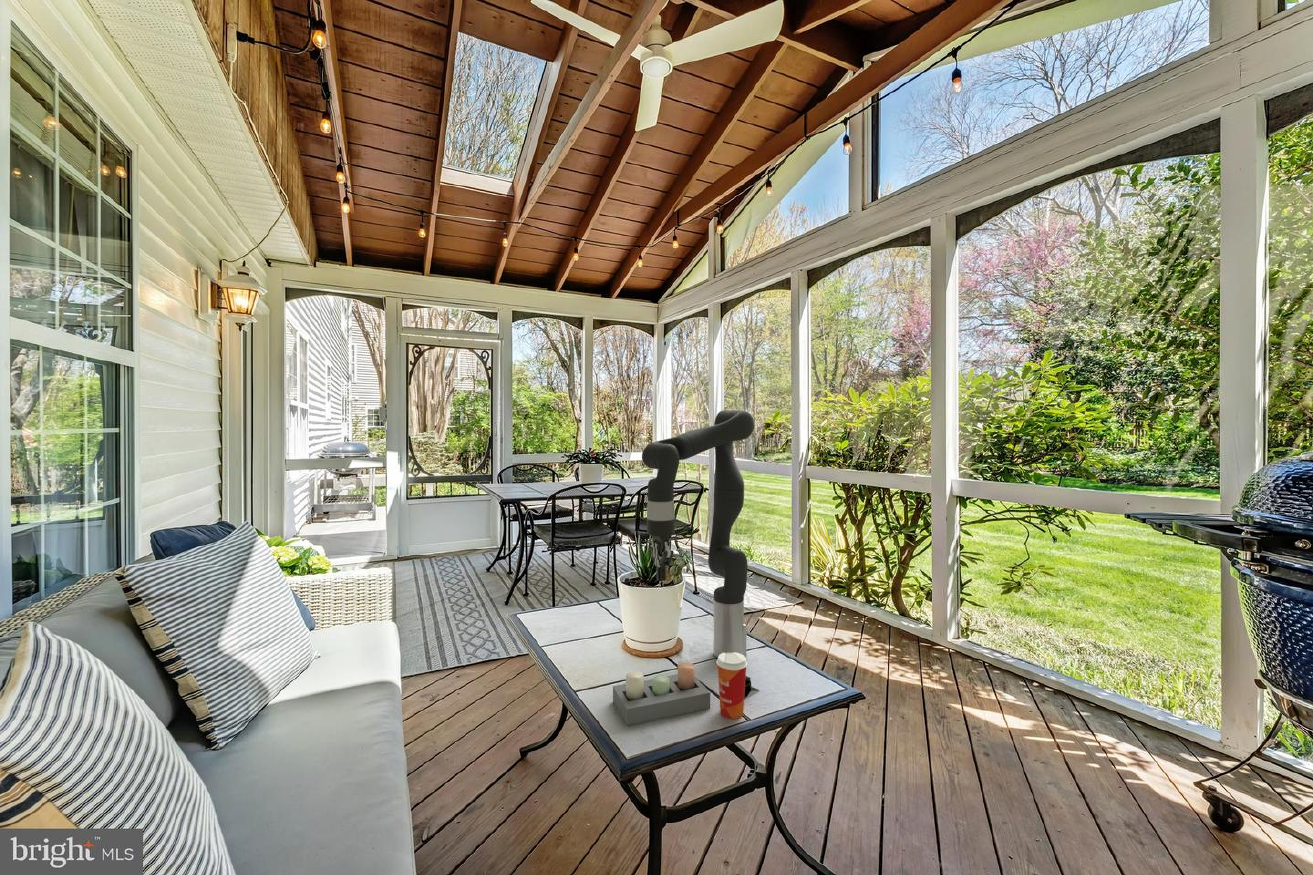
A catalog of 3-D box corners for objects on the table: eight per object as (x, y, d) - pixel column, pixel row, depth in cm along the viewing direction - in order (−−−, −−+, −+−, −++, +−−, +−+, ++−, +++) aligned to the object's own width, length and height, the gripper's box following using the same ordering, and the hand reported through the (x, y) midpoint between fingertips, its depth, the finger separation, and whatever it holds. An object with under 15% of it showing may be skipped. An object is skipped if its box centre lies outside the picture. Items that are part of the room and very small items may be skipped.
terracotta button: (690, 679, 147) (690, 661, 147) (697, 687, 143) (697, 668, 143) (675, 682, 146) (674, 664, 146) (681, 690, 142) (681, 671, 141)
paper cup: (713, 705, 142) (713, 651, 141) (743, 704, 142) (743, 650, 142) (719, 722, 134) (719, 665, 133) (751, 720, 135) (751, 664, 134)
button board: (690, 686, 152) (690, 671, 152) (710, 708, 140) (710, 692, 140) (613, 701, 144) (612, 686, 144) (626, 725, 133) (626, 709, 133)
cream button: (640, 689, 142) (640, 670, 142) (646, 697, 138) (645, 677, 138) (623, 692, 141) (623, 673, 141) (629, 700, 137) (629, 680, 137)
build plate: (737, 708, 141) (737, 691, 141) (715, 698, 147) (715, 680, 146) (766, 691, 150) (766, 674, 150) (745, 682, 155) (745, 665, 155)
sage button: (665, 693, 145) (665, 674, 145) (672, 701, 141) (672, 681, 141) (649, 696, 143) (649, 677, 143) (655, 704, 139) (655, 684, 139)
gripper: (683, 520, 146) (683, 585, 147) (664, 511, 158) (665, 572, 159) (656, 522, 143) (656, 588, 144) (639, 513, 156) (640, 574, 157)
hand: (661, 579), depth 152 cm, fingers closed
